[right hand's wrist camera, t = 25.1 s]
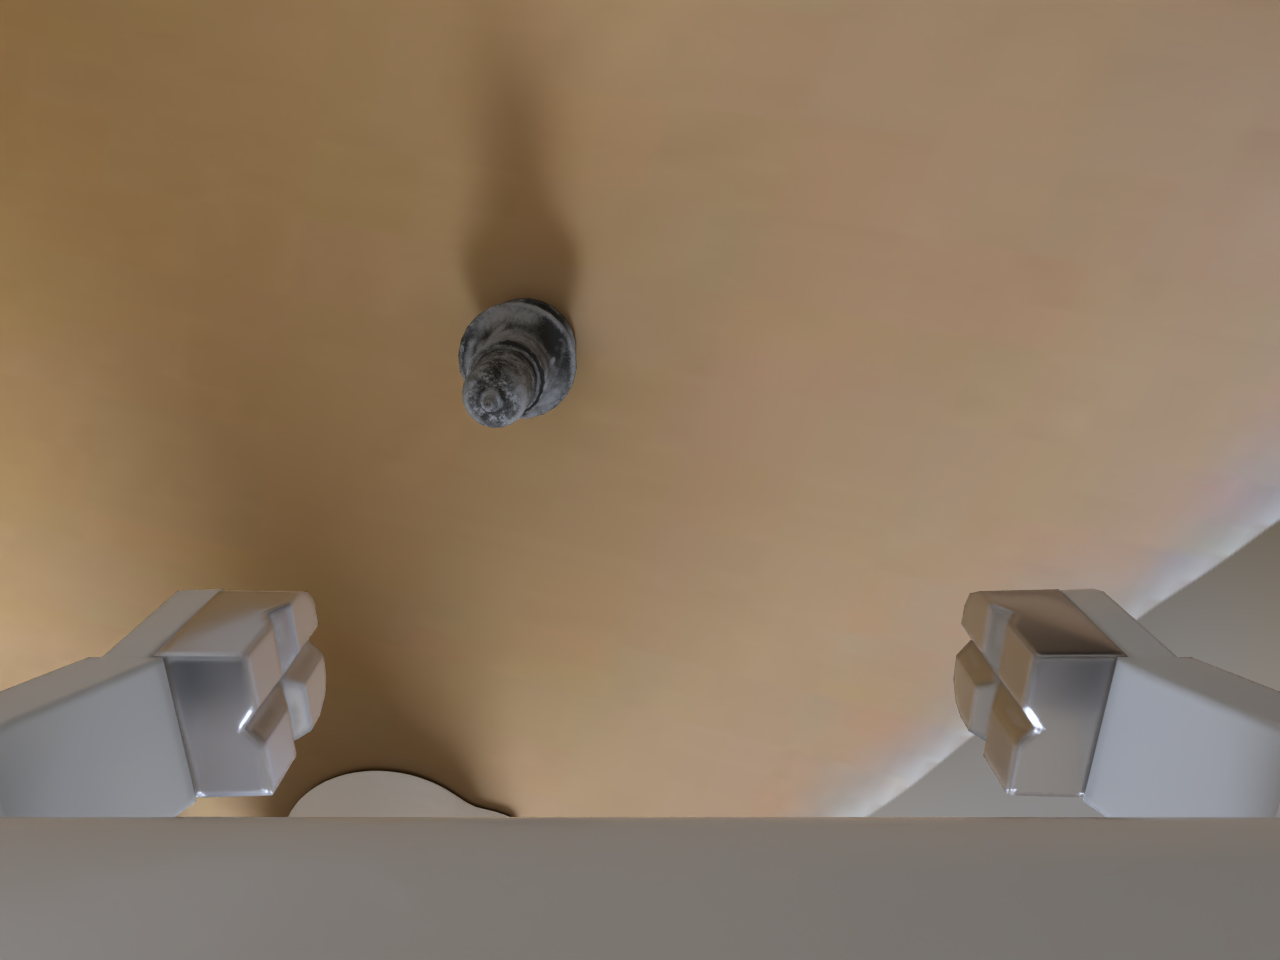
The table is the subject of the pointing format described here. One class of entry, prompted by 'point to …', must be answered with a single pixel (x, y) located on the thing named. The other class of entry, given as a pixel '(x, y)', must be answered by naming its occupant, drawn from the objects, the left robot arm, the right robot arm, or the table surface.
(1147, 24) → the table surface
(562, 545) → the table surface
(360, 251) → the table surface
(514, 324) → the grey chess piece
